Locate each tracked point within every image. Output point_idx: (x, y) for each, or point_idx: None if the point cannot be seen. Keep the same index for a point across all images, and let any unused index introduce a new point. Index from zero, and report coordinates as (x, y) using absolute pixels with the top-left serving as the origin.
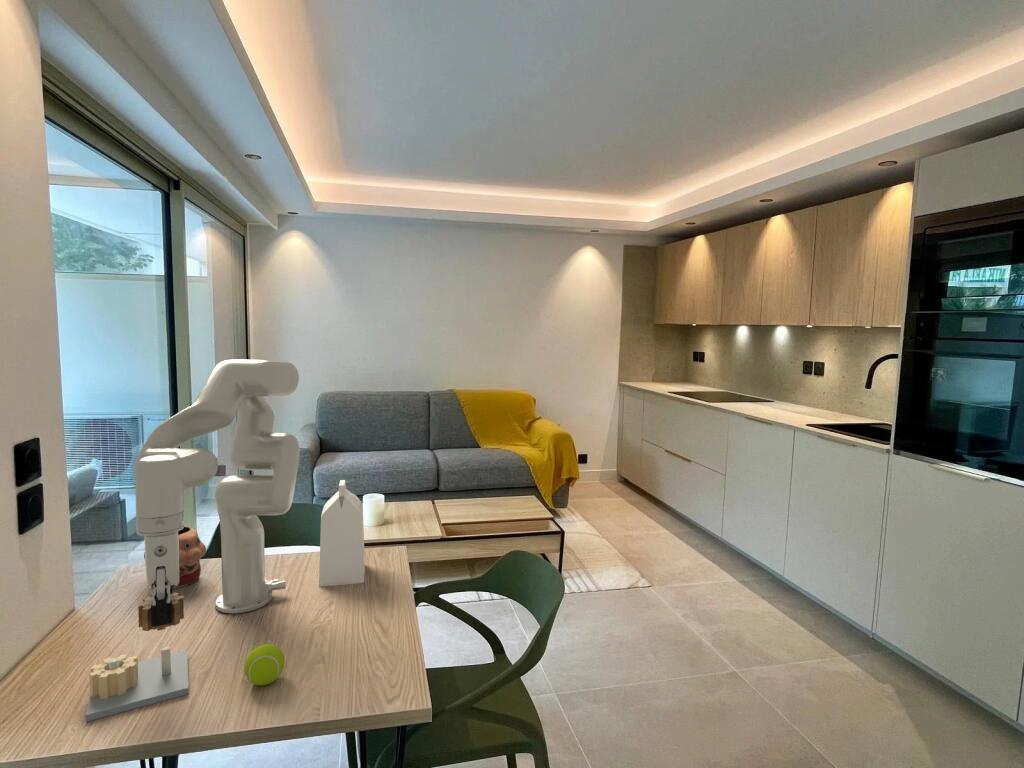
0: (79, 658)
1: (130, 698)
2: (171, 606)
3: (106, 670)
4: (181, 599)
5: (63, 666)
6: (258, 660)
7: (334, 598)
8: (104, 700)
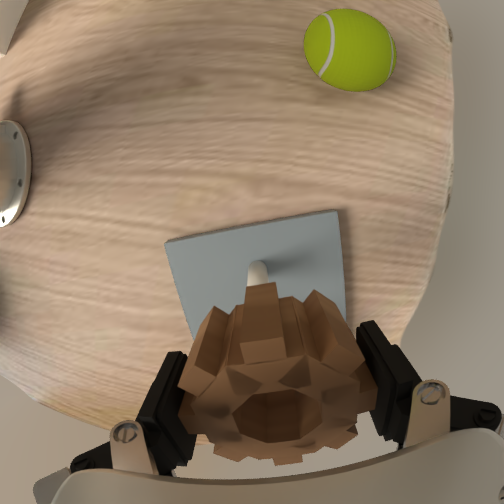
0: None
1: None
2: (401, 364)
3: None
4: (283, 341)
5: None
6: (394, 55)
7: (52, 9)
8: None
